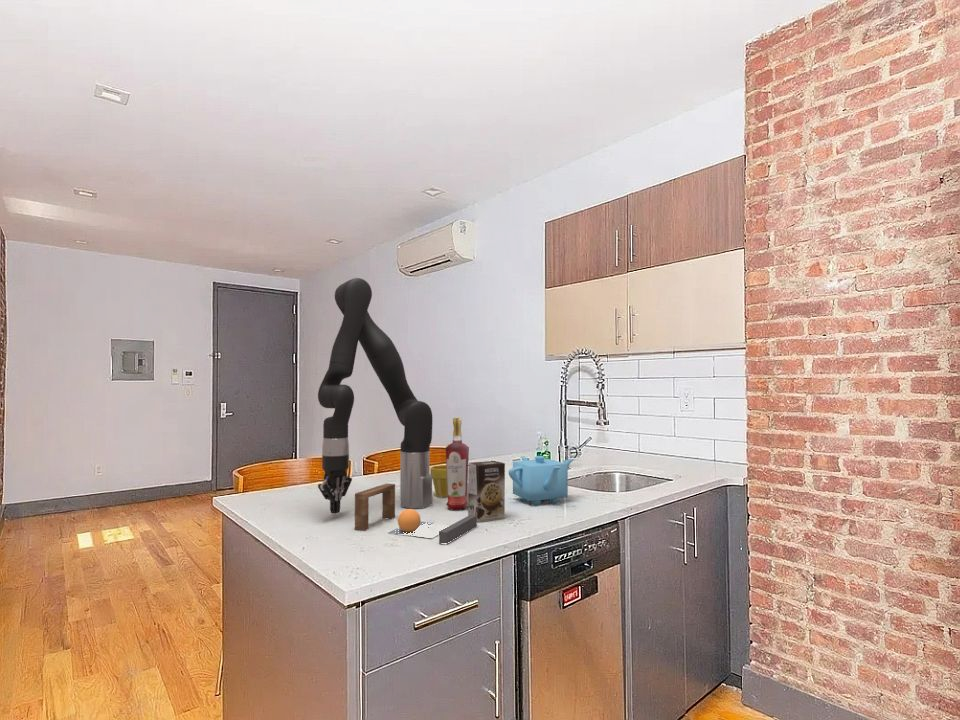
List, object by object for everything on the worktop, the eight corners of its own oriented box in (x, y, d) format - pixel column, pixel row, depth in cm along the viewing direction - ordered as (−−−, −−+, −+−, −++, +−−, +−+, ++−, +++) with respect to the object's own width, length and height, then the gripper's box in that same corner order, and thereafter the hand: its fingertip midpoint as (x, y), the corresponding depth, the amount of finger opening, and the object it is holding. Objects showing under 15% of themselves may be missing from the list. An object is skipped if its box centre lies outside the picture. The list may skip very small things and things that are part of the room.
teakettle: (505, 505, 178) (504, 458, 178) (521, 492, 196) (521, 450, 196) (563, 510, 171) (563, 462, 172) (575, 497, 189) (574, 453, 189)
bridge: (394, 517, 162) (395, 484, 162) (363, 531, 148) (364, 494, 148) (386, 516, 163) (386, 483, 163) (354, 529, 150) (354, 493, 150)
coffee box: (477, 522, 157) (477, 465, 157) (467, 517, 162) (467, 462, 163) (505, 519, 161) (505, 462, 161) (494, 514, 166) (494, 459, 167)
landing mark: (454, 526, 153) (454, 525, 153) (431, 539, 141) (431, 538, 141) (413, 521, 158) (413, 520, 158) (388, 533, 146) (388, 532, 146)
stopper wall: (476, 526, 153) (476, 515, 153) (446, 544, 136) (446, 532, 137) (470, 525, 154) (470, 514, 154) (439, 543, 137) (439, 531, 137)
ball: (411, 503, 151) (407, 524, 152) (395, 507, 147) (391, 528, 147) (427, 512, 148) (422, 533, 149) (411, 516, 143) (406, 538, 144)
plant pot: (439, 491, 199) (439, 463, 199) (465, 493, 194) (465, 465, 195) (424, 496, 189) (424, 468, 189) (451, 499, 185) (451, 470, 185)
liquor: (471, 506, 176) (471, 417, 177) (465, 511, 169) (465, 419, 169) (449, 505, 178) (449, 417, 178) (442, 510, 170) (442, 418, 171)
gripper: (331, 457, 154) (330, 520, 154) (360, 450, 166) (359, 509, 166) (309, 455, 157) (309, 517, 157) (339, 449, 169) (339, 506, 169)
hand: (335, 512), depth 162 cm, fingers closed
